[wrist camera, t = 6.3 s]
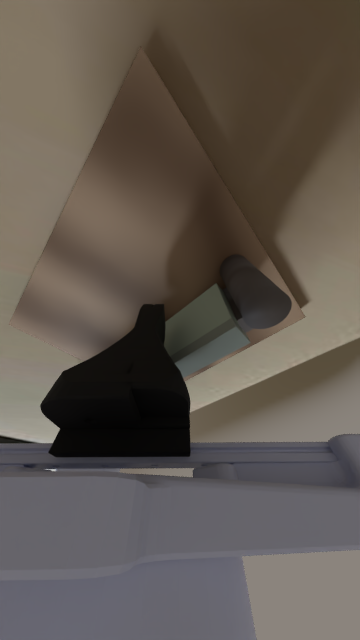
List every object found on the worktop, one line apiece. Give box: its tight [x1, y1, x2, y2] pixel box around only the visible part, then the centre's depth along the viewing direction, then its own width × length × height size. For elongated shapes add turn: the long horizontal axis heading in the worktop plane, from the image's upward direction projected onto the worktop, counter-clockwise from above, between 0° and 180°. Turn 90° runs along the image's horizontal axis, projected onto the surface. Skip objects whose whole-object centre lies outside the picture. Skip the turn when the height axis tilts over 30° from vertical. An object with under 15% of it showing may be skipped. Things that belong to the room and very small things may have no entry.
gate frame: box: [9, 47, 305, 381], centre depth 12 cm, size 20×18×6 cm
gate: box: [164, 283, 251, 378], centre depth 12 cm, size 12×1×5 cm, turn 133°
